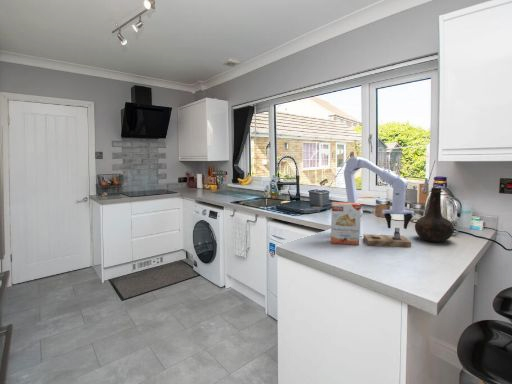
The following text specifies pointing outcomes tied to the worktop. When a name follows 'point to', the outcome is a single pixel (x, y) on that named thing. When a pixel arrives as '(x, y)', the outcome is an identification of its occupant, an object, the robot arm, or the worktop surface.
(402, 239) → the block
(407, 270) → the worktop surface
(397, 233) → the drill bit
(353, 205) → the cracker box
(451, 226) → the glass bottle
